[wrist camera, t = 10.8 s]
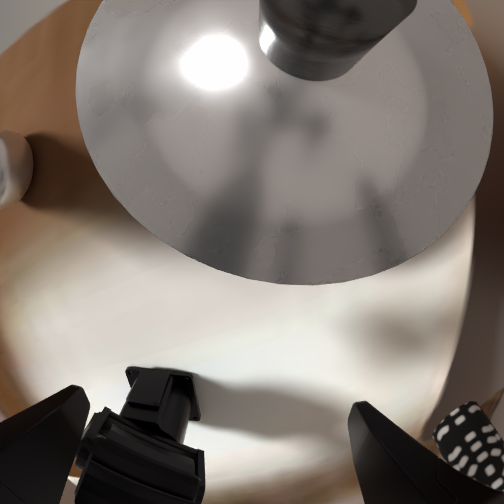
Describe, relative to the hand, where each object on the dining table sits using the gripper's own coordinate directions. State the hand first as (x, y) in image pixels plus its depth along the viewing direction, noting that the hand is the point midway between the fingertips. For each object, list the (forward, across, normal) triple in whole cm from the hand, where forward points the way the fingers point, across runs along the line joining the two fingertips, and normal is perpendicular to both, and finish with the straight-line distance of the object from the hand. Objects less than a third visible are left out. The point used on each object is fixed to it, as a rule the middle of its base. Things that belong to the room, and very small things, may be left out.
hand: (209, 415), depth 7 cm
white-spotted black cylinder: (+13, -31, +24) cm, 41 cm away
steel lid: (+6, -4, -13) cm, 14 cm away
